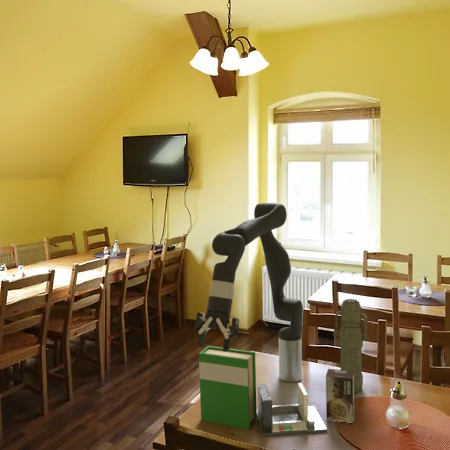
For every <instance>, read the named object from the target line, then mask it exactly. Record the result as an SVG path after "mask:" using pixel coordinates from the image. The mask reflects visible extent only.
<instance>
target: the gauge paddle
mask: <svg viewBox="0 0 450 450" xmlns="http://www.w3.org/2000/svg"><path fill="white" fill-rule="evenodd" d="M308 395H309V394H308V393H307V391H306V388H305V386H304V385H303V383H302V382H297V404H298V411H299V413H300V415H301V417H302V420H307V426H309V419H308V406H309V401H308V400H309V396H308Z"/></svg>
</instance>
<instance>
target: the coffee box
mask: <svg viewBox="0 0 450 450" xmlns="http://www.w3.org/2000/svg"><path fill="white" fill-rule="evenodd" d="M325 396H326V397H325V402H326V403H325V406H326V408H325V409H326V412H325V413H326V414H325V415H326V420H325V421H326V422H334V423H337V422H336V421H343V422H350V423H353V422H354V423H355V417H354V415H355V394H354V371H347V370H340V369H335V368H334V369H333V368H327V371H326V375H325ZM354 423H353V424H354Z"/></svg>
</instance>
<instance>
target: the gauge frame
mask: <svg viewBox="0 0 450 450" xmlns="http://www.w3.org/2000/svg"><path fill="white" fill-rule="evenodd" d="M256 413H257V420H258V425H259V427H260V430H261V434H262V437H273V436H274V437H276V436H290V435H302V434H303V435H305V434H317V433H318V434H319V433H328V428H327V426H326V425H325V423H324V420H323V418H322V417H321V415H320V414H319V412H318V410H317V408H316V406H315V405H308V419H309V426H307V420H302V417H301V415H300V413H299V411H298V403H295V404H293V403H292V404H277V405H276V404H275V405H273V399H272V396H271V393H270V391H269V389H268V386H267V384H266V383H265V384H264V383H263V384H257V408H256Z"/></svg>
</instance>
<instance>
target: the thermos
mask: <svg viewBox="0 0 450 450" xmlns="http://www.w3.org/2000/svg"><path fill="white" fill-rule="evenodd" d="M338 316H340V321H341V323H340V327H339V331H338ZM334 317H335V321H334V322H335V325H334V326H335V327H334V329H335V330H334V331H335V332H334V333H335V334H334V335H335V338H336V339H337V340H338V341H339V342H338V344H339V345H338V346H339V348H340V369H339V370H347V371H354V395H357V394H361V393H362V392H363V385H364V376H363V372H362V371H363V370H362V364H363V363H362V361H363V360H362V349H363V347H364V342H366V340H368V316H367V315H366V313H364V312H362V306H361V303H360V301H359V300H357V299H353V298H347V299H344V300H343V301H342V303H341V306H340V311H339V310H338V311H337V312H336V313H335V315H334ZM362 318H363V319H364V321H363V322H364V324H363V325H364V327H363V328H364V331H363V329H362ZM338 333H339V334H338Z"/></svg>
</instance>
